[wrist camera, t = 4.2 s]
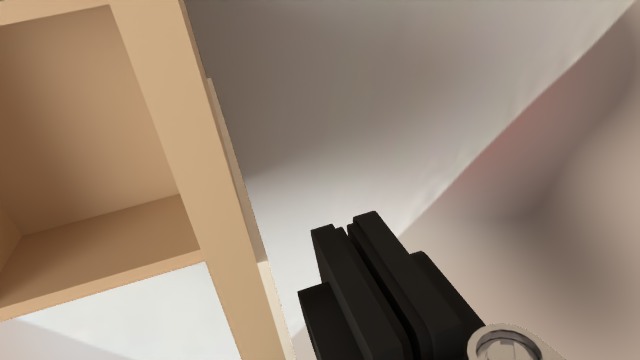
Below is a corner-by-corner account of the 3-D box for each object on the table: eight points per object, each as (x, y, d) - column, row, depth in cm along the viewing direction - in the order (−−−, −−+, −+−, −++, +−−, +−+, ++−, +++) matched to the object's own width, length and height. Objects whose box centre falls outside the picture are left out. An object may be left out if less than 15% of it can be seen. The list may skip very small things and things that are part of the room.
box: (162, -32, 24) (154, -28, 17) (229, 185, 31) (241, 250, 24) (-118, 21, 22) (-255, 50, 15) (18, 242, 29) (-34, 331, 22)
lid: (153, -28, 17) (179, -33, 18) (241, 251, 24) (259, 245, 24) (106, -3, 5) (189, -19, 6) (309, 540, 12) (343, 525, 12)
